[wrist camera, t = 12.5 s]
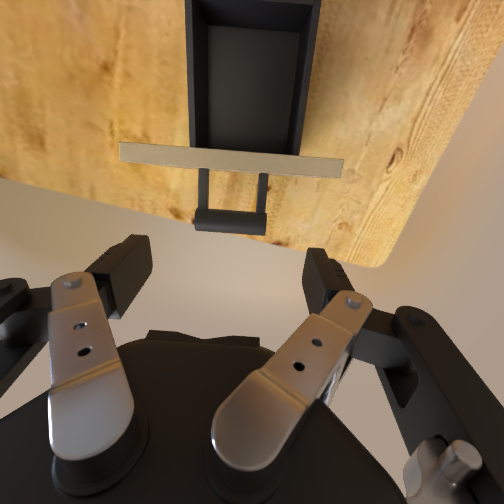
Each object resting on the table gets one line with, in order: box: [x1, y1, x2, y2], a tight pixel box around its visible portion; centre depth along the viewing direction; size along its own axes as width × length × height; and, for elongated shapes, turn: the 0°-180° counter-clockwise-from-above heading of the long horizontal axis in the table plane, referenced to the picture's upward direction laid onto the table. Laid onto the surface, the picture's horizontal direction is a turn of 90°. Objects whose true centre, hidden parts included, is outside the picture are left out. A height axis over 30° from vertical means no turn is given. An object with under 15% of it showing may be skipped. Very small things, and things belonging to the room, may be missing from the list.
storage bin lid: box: [119, 142, 344, 236], centre depth 26 cm, size 19×15×6 cm
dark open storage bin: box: [185, 0, 322, 156], centre depth 36 cm, size 18×15×10 cm
